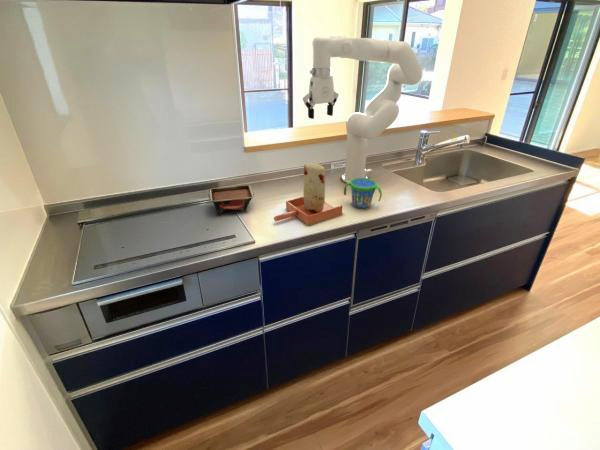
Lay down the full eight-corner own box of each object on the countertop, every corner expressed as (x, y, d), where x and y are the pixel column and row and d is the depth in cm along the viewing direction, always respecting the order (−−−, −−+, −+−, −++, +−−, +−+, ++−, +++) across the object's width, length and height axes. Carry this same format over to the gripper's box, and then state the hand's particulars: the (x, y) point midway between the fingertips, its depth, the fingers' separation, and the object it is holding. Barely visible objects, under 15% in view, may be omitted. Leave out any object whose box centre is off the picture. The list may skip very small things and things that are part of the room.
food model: (299, 210, 140) (299, 163, 130) (309, 204, 145) (310, 158, 135) (319, 217, 135) (320, 169, 125) (328, 211, 139) (330, 164, 129)
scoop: (318, 199, 149) (318, 191, 147) (342, 214, 138) (342, 205, 136) (264, 216, 137) (263, 207, 135) (285, 233, 125) (284, 224, 123)
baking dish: (252, 218, 139) (254, 195, 135) (207, 216, 135) (207, 192, 131) (250, 205, 152) (252, 183, 148) (209, 202, 148) (209, 180, 144)
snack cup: (383, 204, 145) (386, 181, 140) (375, 214, 137) (377, 191, 132) (348, 196, 152) (350, 174, 147) (339, 206, 144) (340, 183, 139)
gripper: (308, 75, 130) (308, 121, 138) (344, 71, 138) (342, 115, 146) (298, 73, 135) (298, 117, 144) (333, 70, 143) (331, 112, 152)
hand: (320, 116), depth 145 cm, fingers open, 9 cm apart
